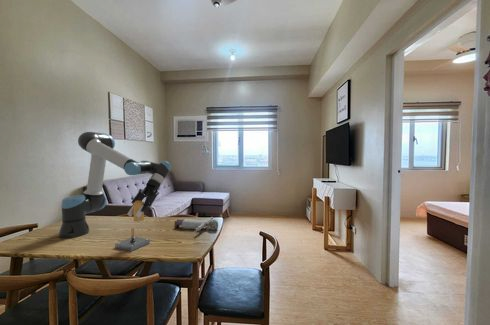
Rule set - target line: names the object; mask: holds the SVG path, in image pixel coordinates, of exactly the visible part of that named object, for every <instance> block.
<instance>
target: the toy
mask: <svg viewBox="0 0 490 325" xmlns="http://www.w3.org/2000/svg"><path fill="white" fill-rule="evenodd" d="M173 227H174V229H177V228H178V227H181V228H182V229H184V230H185V229H186V230H194V231H193V232H194V233H197V232H198V231H199V232H200V231H201V229H204V228H206V229H208V230H213V231H217V230H218V229H219V222H218V220H217V219H214V218H213V216H211V217H209V218H208V219H205V220H201V219H199V220H198V219H191V218H185V219H177V220H175V221H174V226H173Z"/></svg>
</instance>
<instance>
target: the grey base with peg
mask: <svg viewBox="0 0 490 325" xmlns="http://www.w3.org/2000/svg"><path fill="white" fill-rule="evenodd" d="M130 233H131V234H130V235H131V236H130V237H128V238H126V239H124V240H122V241H119V242H115V243H114V248H116V249H121V250H124V251H129V252H133V251H136V250H137V249H139V248H142V247H144V246H146V245H148V244H150V243H151V240H150V239H149V238H145V237H139V236H135V228H131V229H130Z"/></svg>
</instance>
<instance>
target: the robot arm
mask: <svg viewBox="0 0 490 325" xmlns="http://www.w3.org/2000/svg"><path fill="white" fill-rule="evenodd" d="M77 142H78V143H77V144H78V146H79V147H80V148H81V149H82V150H84V151H86V152H87V153H89V154H90V155H91V157H90V163H89V171H88V176H87V185H86V190H84V191H83V193H82V194H76V195H70V196H68V197H64V198H63V199H62V200H61V220H62V221H61V225H60V229H59V231H58V237H59V239H61V238H62V239H70V238H77V237H81V236H84V235H86V234H89V232H90V227H89V224H88V223H87V219H86V215H87V214H91V213H94V212H98V211H100V210H102V209H104V208H105V206H106V205H107V202H108V200H107V197H106V195H105V192H104V191H103V184H104V177H105V170H106V163H107V162H106V161H108V163H111V164H113V165H115V166H117V167H118V168H121V169H122V170H124V173H125V174H126V175H128V176H139V175H145V174H146V175H147V174H150V175H151V176H150V178H149V180H147V182H146V184H145V187H144V188H143V189H141V188H139V190H138V192H137V193H136V194H135V196H134V197H133V199H132V201H131V202H130V203H132V206H131V207H130V209H129V211H128V212H127V215H128V216H129V217H133V216H134V212H133V203H134V202H135V201H137V200H142V201H143V200H144V199H145V200H144V201H143V202H144V204H143V205H142V206H141V207H140V209H139V210H138V212H137V213H136V216H137V217H138V218H140V216H141V214H142V213H143V212H144V213H145V211H146V209H147V208H148V207H150V208H151V206H152V205H153V203H154V202H155V200H156V198H157V197H158V195H159V194H160V192H159V189H160V187H161V185H162V184H163V182H164V181H165V180H166V177H167V176H168V174H169V173H170V172H171V170H172V164H171V163H170V162H169V161H166V160H162V161H160V162H159V163H157V162H152V161H149V160H141V161H138V160H137V161H136V160H135V159H133V158H131V157H129V156H127V155H125V154H123V153H121V152H119V151H118V150H116V149H114V148H115V146H116V142H115V139H114V138H113V137H112V135H110V134H107V133H104V132H95V131H84V132H83V133H81V134H79V136H78V139H77Z"/></svg>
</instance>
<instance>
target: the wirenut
mask: <svg viewBox="0 0 490 325" xmlns="http://www.w3.org/2000/svg"><path fill="white" fill-rule="evenodd" d="M144 202H145V201H143V200H137V201H135V202H134V203H133V204H132V205H133V212H134V213H133V222H143V221H145V211H144V212H143V213H142V214H141V216H140V218H138V217H137V216H136V213H137V212H138V210H139V209H140V207H141V206H142V205H143V204H144Z"/></svg>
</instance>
